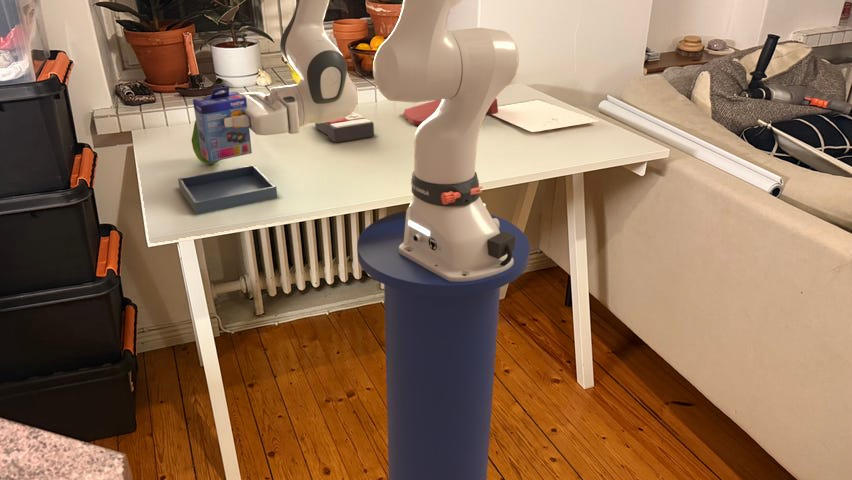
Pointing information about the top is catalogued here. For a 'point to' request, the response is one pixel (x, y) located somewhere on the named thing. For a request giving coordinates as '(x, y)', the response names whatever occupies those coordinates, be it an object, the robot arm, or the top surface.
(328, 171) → the top surface
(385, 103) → the top surface
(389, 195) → the top surface
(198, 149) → the avocado
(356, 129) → the dark grey package
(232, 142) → the ink cartridge box
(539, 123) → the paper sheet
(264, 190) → the tray
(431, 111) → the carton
